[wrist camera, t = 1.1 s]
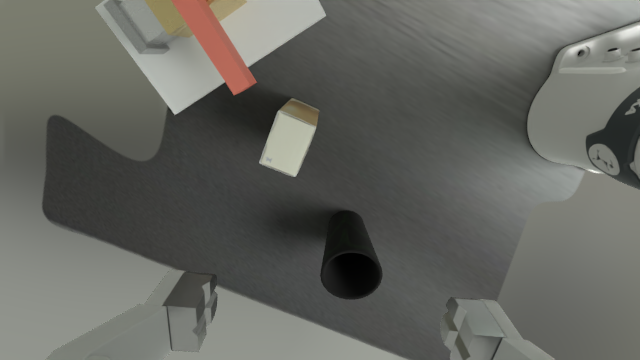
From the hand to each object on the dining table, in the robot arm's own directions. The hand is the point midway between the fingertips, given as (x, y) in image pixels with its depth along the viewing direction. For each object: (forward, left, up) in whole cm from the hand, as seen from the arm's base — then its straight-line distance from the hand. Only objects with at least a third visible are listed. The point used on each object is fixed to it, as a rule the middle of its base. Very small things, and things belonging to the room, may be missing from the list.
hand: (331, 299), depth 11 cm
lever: (+5, -15, -26) cm, 31 cm away
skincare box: (+4, -1, -34) cm, 35 cm away
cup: (+6, +17, -34) cm, 39 cm away
